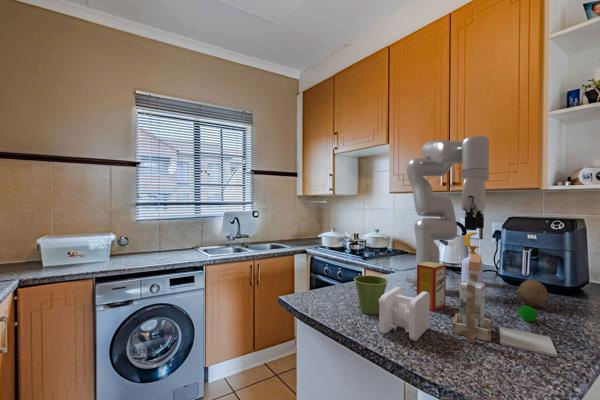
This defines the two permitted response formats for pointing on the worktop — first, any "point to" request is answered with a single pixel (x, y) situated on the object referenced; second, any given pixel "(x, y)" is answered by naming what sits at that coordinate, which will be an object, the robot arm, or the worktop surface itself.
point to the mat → (527, 341)
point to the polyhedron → (527, 313)
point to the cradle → (471, 317)
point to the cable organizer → (404, 312)
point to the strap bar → (475, 262)
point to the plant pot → (370, 292)
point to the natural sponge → (532, 292)
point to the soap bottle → (465, 262)
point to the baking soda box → (432, 283)
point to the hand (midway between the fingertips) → (474, 229)
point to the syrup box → (478, 303)
